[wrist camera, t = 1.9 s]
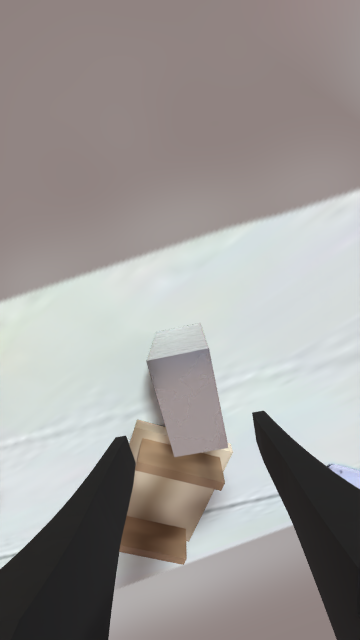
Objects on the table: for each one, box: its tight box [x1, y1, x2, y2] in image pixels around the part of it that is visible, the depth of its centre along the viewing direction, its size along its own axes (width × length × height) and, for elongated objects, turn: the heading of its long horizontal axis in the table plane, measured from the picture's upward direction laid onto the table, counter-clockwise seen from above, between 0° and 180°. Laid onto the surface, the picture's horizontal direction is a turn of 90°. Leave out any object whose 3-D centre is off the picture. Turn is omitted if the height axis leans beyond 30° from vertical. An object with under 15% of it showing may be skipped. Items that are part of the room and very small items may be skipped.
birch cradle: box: [119, 420, 233, 565], centre depth 22 cm, size 10×14×4 cm
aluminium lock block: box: [146, 323, 228, 457], centre depth 17 cm, size 4×8×6 cm, turn 12°
